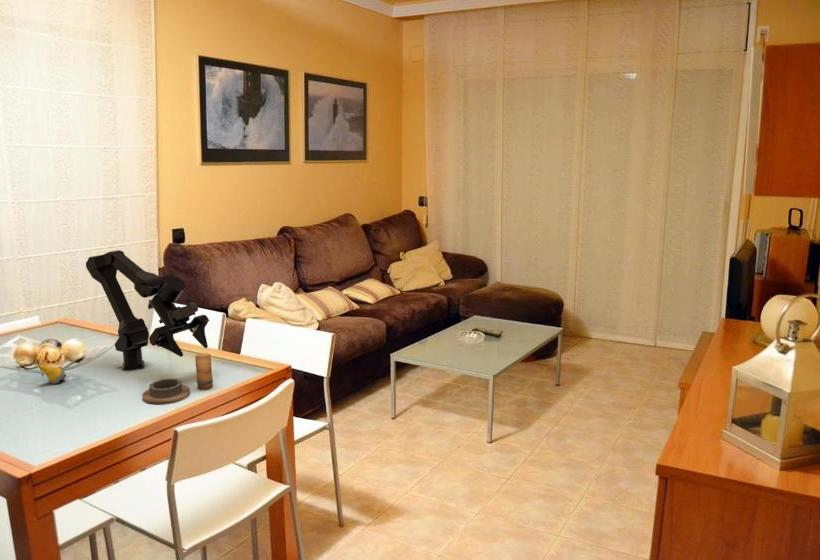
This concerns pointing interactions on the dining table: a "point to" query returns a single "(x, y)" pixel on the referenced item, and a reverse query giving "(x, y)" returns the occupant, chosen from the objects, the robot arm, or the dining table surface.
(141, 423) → the dining table surface
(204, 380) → the handle
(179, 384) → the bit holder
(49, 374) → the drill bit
